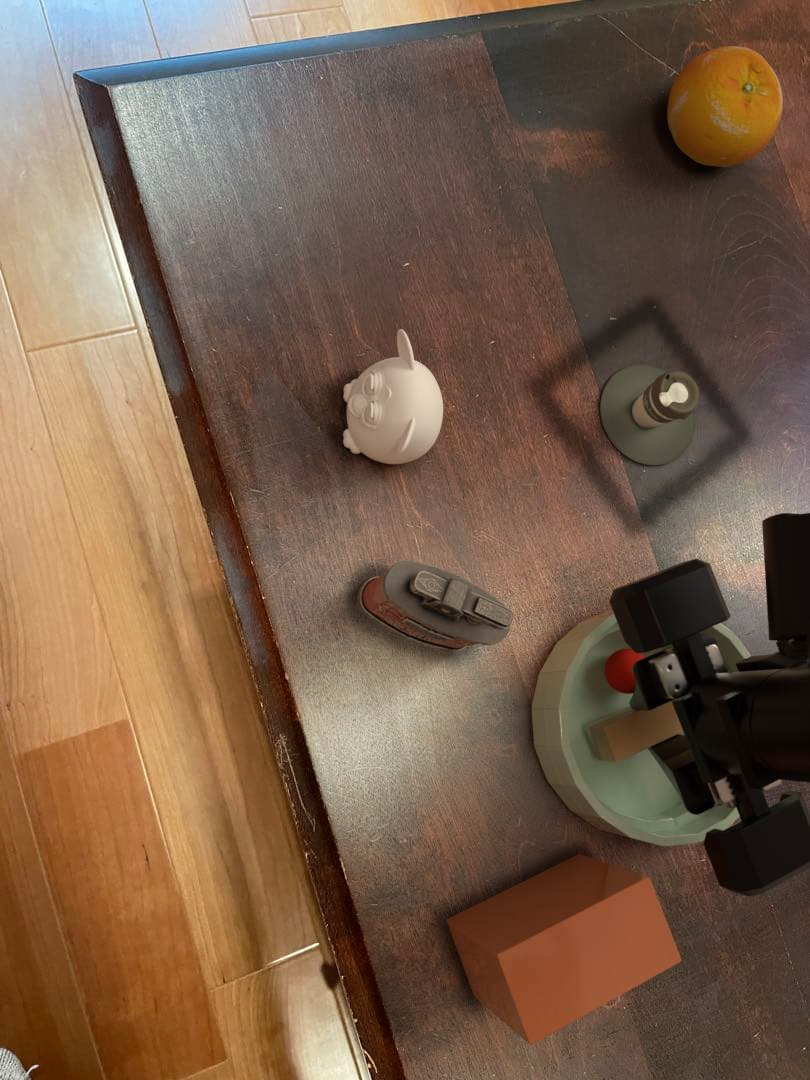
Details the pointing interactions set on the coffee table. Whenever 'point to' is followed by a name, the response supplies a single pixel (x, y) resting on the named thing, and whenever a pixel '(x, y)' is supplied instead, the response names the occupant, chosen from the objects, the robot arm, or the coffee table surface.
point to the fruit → (725, 106)
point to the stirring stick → (632, 731)
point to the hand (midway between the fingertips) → (643, 721)
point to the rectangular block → (563, 944)
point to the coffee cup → (649, 413)
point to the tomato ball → (622, 670)
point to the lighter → (434, 608)
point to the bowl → (570, 760)
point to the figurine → (393, 408)
